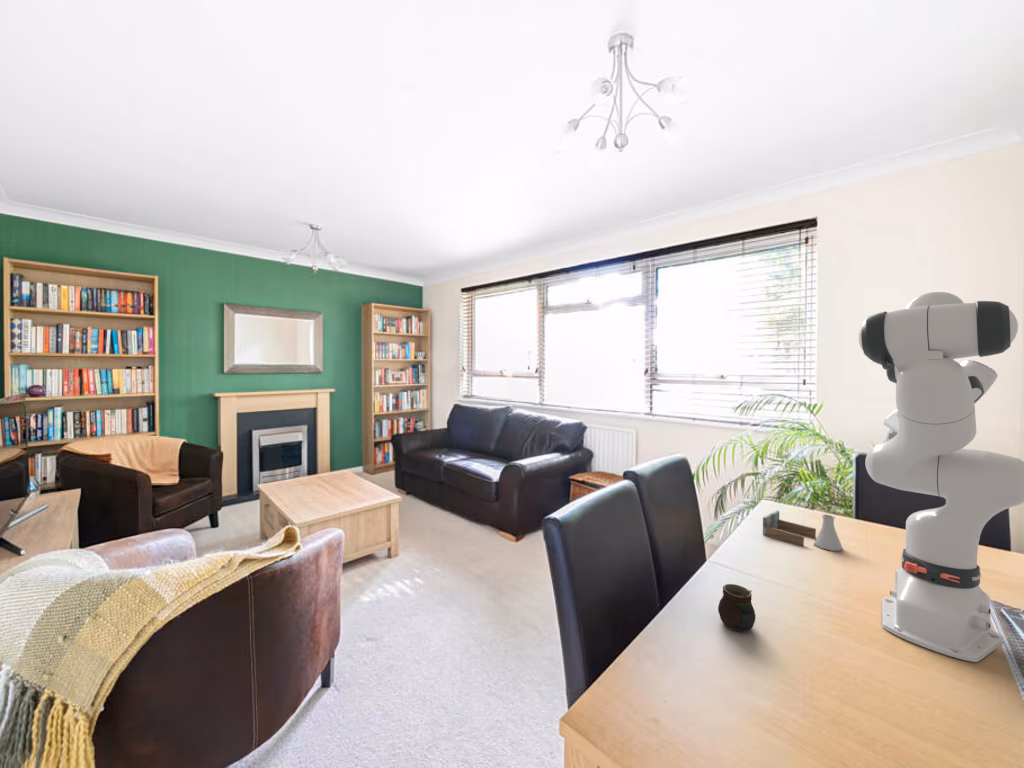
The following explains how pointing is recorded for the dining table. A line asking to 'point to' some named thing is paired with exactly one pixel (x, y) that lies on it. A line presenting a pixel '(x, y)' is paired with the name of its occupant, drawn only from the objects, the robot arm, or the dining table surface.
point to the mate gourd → (736, 608)
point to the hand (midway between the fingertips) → (897, 452)
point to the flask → (828, 535)
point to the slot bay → (773, 523)
